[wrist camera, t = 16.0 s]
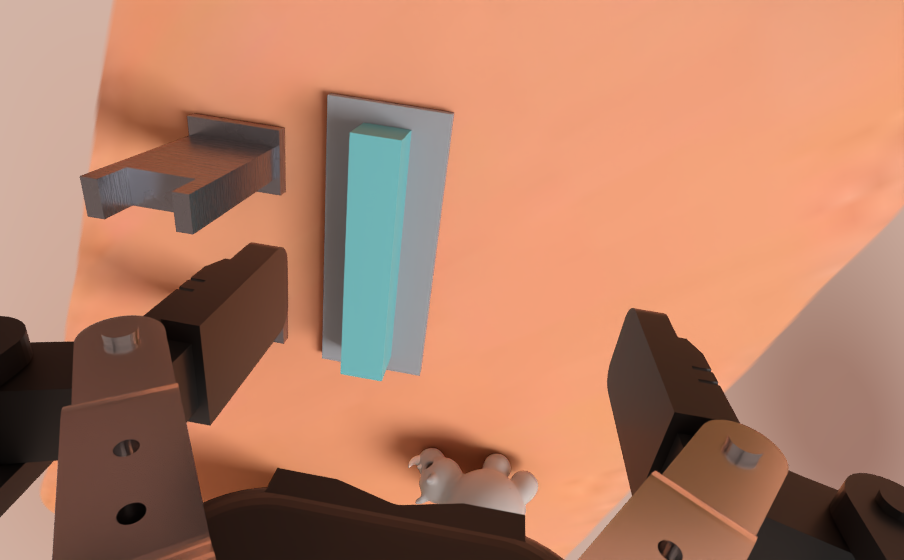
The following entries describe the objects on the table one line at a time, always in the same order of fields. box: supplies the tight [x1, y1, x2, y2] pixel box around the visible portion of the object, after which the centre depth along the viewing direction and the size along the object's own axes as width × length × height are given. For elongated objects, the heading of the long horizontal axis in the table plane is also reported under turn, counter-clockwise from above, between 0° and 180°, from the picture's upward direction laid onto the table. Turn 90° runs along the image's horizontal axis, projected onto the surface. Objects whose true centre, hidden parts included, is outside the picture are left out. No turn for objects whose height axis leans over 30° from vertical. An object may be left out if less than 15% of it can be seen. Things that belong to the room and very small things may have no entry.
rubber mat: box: [322, 93, 454, 376], centre depth 43 cm, size 23×9×1 cm, turn 172°
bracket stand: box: [80, 113, 288, 344], centre depth 39 cm, size 19×7×12 cm, turn 172°
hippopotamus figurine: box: [408, 448, 538, 515], centre depth 50 cm, size 7×12×8 cm, turn 71°
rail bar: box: [341, 123, 411, 381], centre depth 41 cm, size 20×4×4 cm, turn 173°
